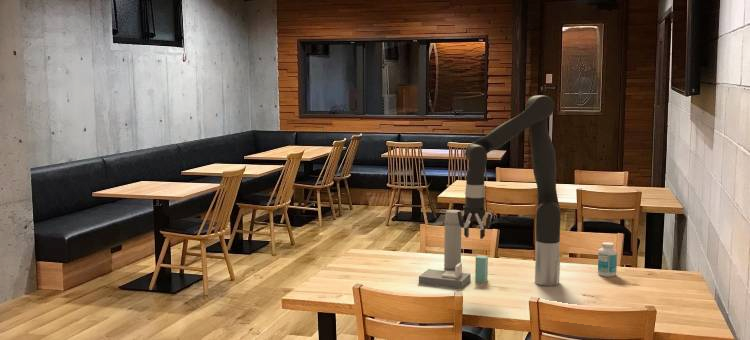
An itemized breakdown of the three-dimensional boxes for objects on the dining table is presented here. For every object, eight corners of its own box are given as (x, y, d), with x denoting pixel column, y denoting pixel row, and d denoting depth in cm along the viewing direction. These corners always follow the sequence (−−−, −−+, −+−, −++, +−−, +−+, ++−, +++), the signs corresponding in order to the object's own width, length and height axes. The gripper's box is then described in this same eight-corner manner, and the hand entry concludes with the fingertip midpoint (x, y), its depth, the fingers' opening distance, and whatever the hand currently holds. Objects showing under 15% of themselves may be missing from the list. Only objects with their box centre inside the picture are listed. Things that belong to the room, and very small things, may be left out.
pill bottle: (614, 272, 314) (615, 241, 313) (618, 277, 307) (619, 245, 305) (595, 272, 315) (597, 241, 313) (599, 277, 308) (600, 245, 306)
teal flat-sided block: (487, 279, 304) (487, 256, 302) (484, 282, 300) (485, 258, 299) (477, 278, 305) (478, 255, 304) (475, 281, 302) (475, 257, 300)
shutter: (462, 274, 301) (462, 262, 300) (457, 278, 295) (457, 266, 294) (446, 272, 303) (447, 261, 303) (441, 276, 297) (441, 265, 296)
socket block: (470, 280, 302) (470, 273, 302) (461, 288, 291) (462, 281, 291) (428, 276, 309) (428, 269, 309) (418, 283, 299) (418, 276, 298)
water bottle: (462, 270, 318) (463, 212, 315) (444, 270, 318) (444, 212, 315) (460, 264, 327) (461, 208, 324) (442, 264, 328) (443, 208, 324)
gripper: (495, 195, 292) (494, 237, 294) (460, 192, 297) (459, 234, 299) (490, 198, 285) (489, 241, 287) (454, 195, 290) (454, 238, 293)
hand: (474, 237), depth 293 cm, fingers open, 5 cm apart
